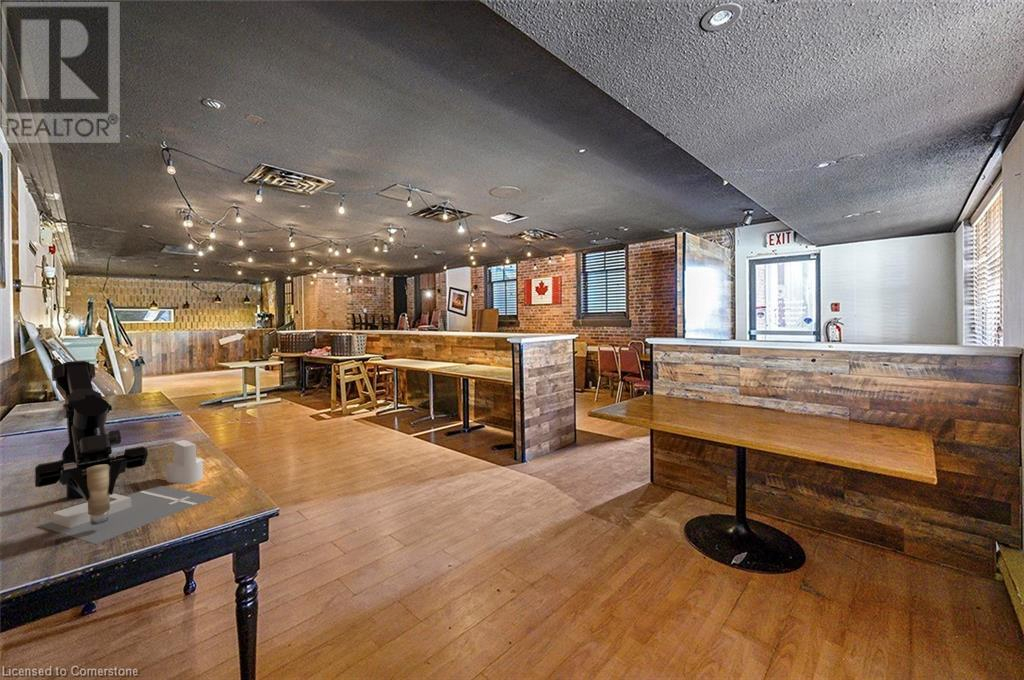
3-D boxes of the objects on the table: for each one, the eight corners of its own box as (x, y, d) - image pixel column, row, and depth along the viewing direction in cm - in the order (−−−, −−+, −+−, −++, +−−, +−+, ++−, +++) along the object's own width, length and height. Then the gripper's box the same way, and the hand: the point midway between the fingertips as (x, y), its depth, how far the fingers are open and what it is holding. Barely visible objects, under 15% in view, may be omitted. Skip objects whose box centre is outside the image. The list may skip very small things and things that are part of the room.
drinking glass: (208, 479, 131) (207, 442, 131) (173, 488, 124) (172, 449, 123) (196, 473, 136) (195, 437, 136) (162, 482, 129) (161, 444, 128)
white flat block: (53, 522, 100) (52, 512, 100) (114, 502, 111) (114, 493, 111) (69, 528, 98) (69, 517, 98) (131, 506, 109) (130, 497, 109)
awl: (84, 523, 96) (83, 468, 95) (104, 516, 99) (102, 463, 99) (94, 526, 95) (92, 470, 94) (113, 519, 98) (112, 465, 97)
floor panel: (36, 529, 99) (35, 524, 99) (159, 489, 123) (159, 484, 123) (95, 549, 91) (95, 543, 91) (215, 501, 115) (215, 497, 115)
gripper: (33, 428, 91) (39, 491, 85) (145, 414, 106) (157, 466, 99) (32, 456, 96) (38, 517, 90) (138, 439, 111) (150, 490, 105)
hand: (99, 496), depth 96 cm, fingers closed on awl, 4 cm apart
